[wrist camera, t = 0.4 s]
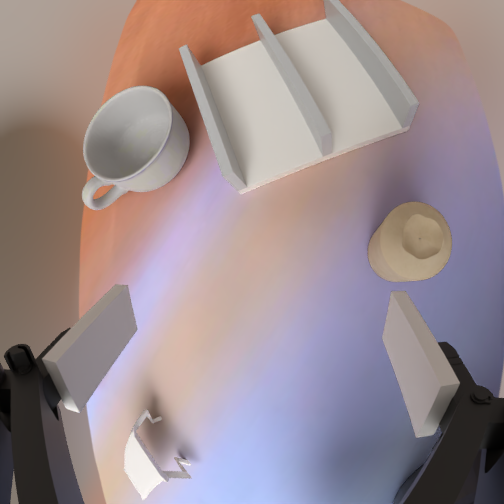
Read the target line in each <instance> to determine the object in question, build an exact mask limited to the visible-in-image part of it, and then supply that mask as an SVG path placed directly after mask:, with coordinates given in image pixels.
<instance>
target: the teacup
mask: <svg viewBox="0 0 504 504" xmlns="http://www.w3.org/2000/svg"><path fill="white" fill-rule="evenodd" d="M189 145H190V139H189V132H188V129H187V126H186V124H185V122H184V120H183V118H182V117H181V116H180V114H179V113H178V112H177V110H176V109H175V108H174V107H173V105H172V104H171V103H170V102H169V100H168V98H167V97H166V95H165V94H163V93H162V92H161V91H160V90H158V89H157V88H154V87H150V86H135V87H131V88H128V89H125V90H123V91H121V92H119V93H118V94H116V95H114V96H113V97H111V98H110V99H109V100H108V101H107V102H105V103H104V104H103V105H102V106H101V108H100V109H99V110H98V111H97V113H96V114H95V116H94V117H93V118H92V121H91V123H90V124H89V126H88V129H87V131H86V134H85V139H84V145H83V153H84V159H85V162H86V164H87V166H88V168H89V170H90V171H91V173H92V174H93V175H95V176H94V177H92V178H91V179H90V180H89V181H88V182H87V183H86V185H85V187H84V188H83V192H82V198H83V201H84V203H85V205H86V206H88V207H89V208H90V209H93V210H100V209H103V208H106V207H107V206H109V205H110V204H112V203H113V202H114V201H115V200H116V199H118V198H119V197H120V196H121V195H123V194H125V193H127V192H128V191H129V190H130V191H135V192H148V191H152V190H155V189H158V188H160V187H162V186H164V185H165V184H167V183H168V182H169V181H171V180H172V179H173V178H174V177H175V176H176V175H177V174H178V172H179V171H180V170H181V168H182V166H183V165H184V163H185V161H186V158H187V155H188V151H189ZM111 184H114V185H115V186H114V187H113V188H112V189H110V190H109V191H108V192H107V193H106V194H105V195H103V196H102V197H100V198H98V199H94V200H93V195H94V193H95V192H96V190H97V189H98V188H100V187H101V186H104V185H111Z"/></svg>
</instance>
